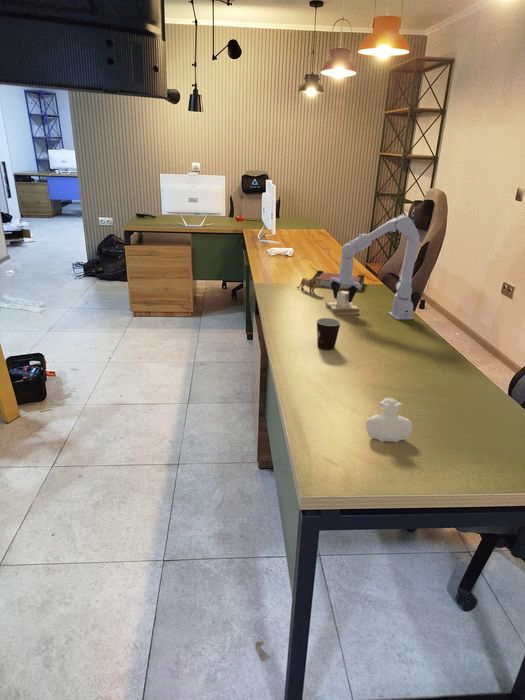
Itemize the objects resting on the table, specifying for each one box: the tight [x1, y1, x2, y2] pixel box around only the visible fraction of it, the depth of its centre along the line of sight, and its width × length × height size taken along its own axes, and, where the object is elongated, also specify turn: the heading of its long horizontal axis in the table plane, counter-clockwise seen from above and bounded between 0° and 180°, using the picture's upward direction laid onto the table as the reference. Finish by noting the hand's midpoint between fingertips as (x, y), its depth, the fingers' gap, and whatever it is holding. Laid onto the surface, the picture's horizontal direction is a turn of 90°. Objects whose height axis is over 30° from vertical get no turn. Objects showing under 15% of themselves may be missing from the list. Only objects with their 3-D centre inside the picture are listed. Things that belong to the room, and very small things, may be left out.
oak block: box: [325, 300, 361, 316], centre depth 220 cm, size 12×12×3 cm
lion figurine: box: [296, 277, 322, 295], centre depth 245 cm, size 15×5×9 cm, turn 47°
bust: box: [365, 397, 413, 443], centre depth 124 cm, size 12×8×11 cm
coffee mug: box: [316, 317, 341, 351], centre depth 179 cm, size 12×9×10 cm
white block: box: [336, 290, 350, 307], centre depth 219 cm, size 4×4×6 cm
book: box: [312, 270, 365, 292], centre depth 261 cm, size 26×18×5 cm
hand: (342, 300), depth 219 cm, fingers open, 7 cm apart
